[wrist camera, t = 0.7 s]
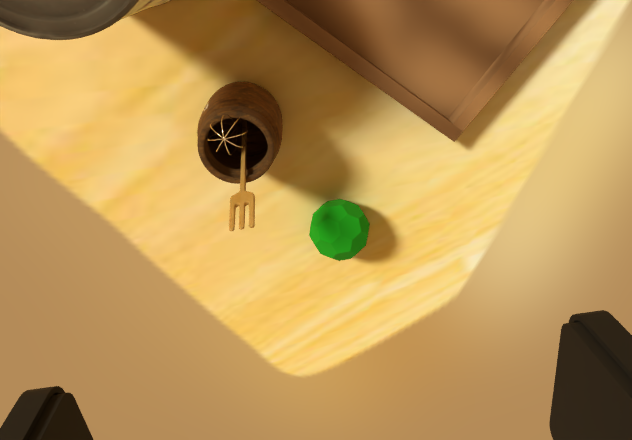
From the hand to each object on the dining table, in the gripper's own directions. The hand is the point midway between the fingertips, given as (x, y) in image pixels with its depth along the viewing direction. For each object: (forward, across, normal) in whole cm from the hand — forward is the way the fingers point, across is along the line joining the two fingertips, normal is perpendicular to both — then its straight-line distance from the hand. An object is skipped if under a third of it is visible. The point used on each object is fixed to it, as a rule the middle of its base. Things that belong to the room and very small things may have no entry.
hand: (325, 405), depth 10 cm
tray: (+31, -10, -6) cm, 33 cm away
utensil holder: (+32, +4, +2) cm, 32 cm away
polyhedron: (+32, -2, +12) cm, 34 cm away
